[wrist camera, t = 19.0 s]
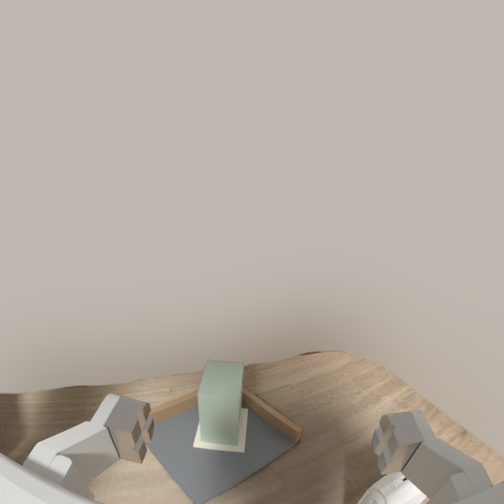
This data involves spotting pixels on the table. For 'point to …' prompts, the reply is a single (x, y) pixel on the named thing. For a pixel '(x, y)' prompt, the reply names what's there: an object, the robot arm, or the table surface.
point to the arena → (217, 445)
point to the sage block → (220, 402)
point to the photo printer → (393, 491)
